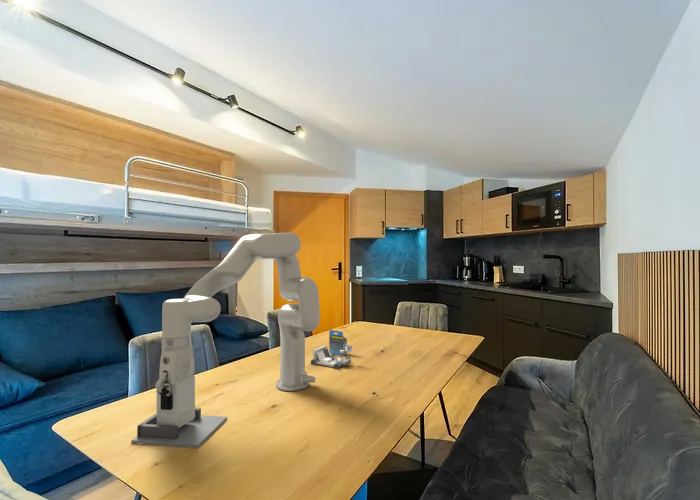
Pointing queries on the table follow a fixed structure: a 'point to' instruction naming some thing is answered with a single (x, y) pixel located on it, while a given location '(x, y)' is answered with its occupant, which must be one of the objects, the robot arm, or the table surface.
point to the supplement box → (179, 404)
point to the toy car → (330, 357)
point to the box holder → (178, 431)
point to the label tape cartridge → (337, 342)
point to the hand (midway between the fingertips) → (176, 402)
